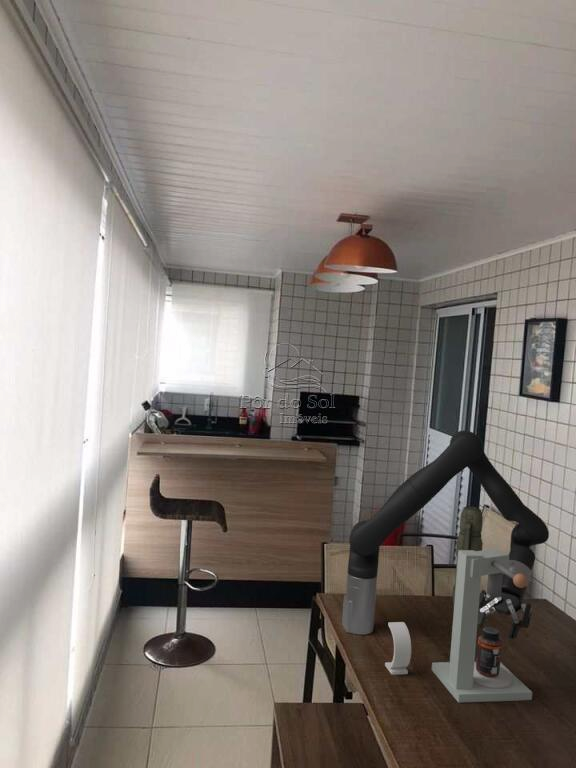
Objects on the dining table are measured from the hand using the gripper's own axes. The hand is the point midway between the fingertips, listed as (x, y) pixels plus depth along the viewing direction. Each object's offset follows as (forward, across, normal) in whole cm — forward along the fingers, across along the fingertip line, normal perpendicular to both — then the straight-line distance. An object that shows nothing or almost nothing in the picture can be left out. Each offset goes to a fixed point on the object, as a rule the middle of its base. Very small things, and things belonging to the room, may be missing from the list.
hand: (494, 632), depth 160 cm
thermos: (-23, -27, +42) cm, 55 cm away
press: (+14, +2, +4) cm, 15 cm away
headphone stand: (+20, -20, -1) cm, 28 cm away
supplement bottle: (+9, 0, +5) cm, 10 cm away
